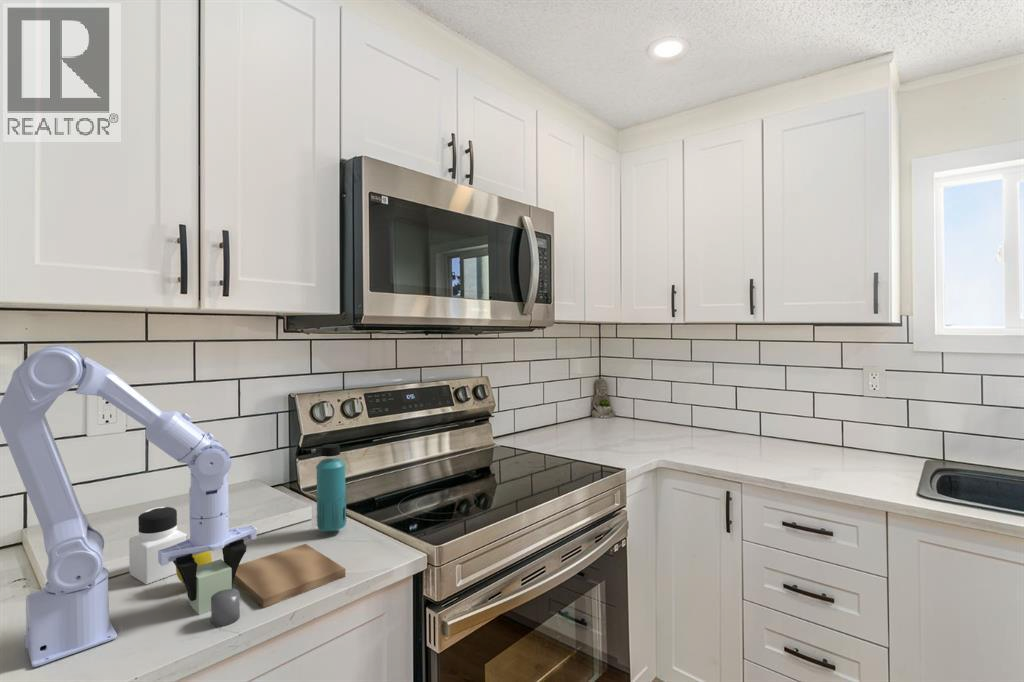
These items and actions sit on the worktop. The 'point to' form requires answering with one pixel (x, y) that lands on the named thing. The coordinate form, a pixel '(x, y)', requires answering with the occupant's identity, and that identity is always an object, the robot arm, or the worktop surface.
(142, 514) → the medicine bottle
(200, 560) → the lemon
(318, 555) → the walnut board
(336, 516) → the beverage bottle
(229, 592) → the charcoal canister
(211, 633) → the worktop surface
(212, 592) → the sage block
